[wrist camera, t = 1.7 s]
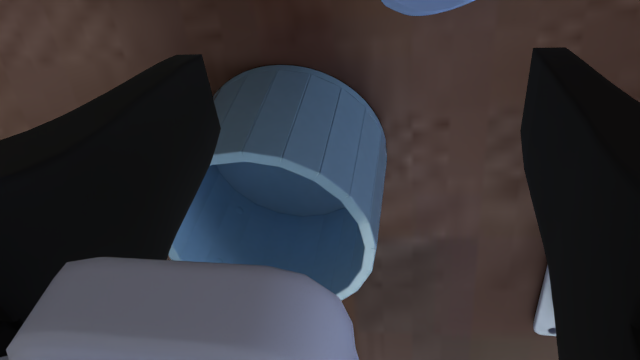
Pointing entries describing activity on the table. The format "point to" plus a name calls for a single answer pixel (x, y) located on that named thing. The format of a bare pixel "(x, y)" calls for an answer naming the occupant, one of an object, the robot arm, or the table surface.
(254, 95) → the mug
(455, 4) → the decorative dice
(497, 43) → the table surface
